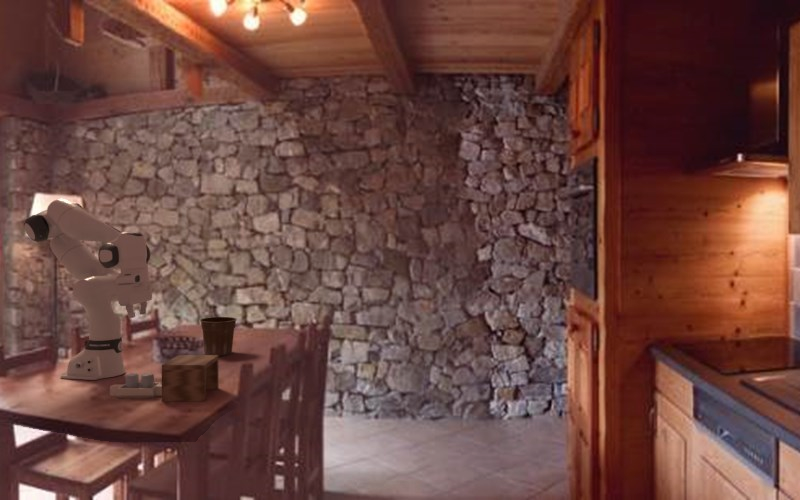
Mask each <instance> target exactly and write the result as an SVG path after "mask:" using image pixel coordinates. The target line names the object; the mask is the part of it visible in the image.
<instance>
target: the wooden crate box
mask: <svg viewBox="0 0 800 500" xmlns="http://www.w3.org/2000/svg"><path fill="white" fill-rule="evenodd" d="M219 379H220V377H219V356H218V355H205V354H178V355H177V356H175V357H173V358H172V359H169V360H168V361H166V362H164V363H163V364H161V382H162V396H161V402H205V401H206V400H207V390H218V389H220V388H219V385H220V384H219Z"/></svg>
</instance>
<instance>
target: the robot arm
mask: <svg viewBox="0 0 800 500" xmlns="http://www.w3.org/2000/svg"><path fill="white" fill-rule="evenodd" d="M23 227H24V228H23V229H24V232H25V234H26V235H27V236H28V237H29V239H31V240H32V241H34V242H37V243H41V242H46V241H48V240H50V239H51V240H50V242H49V245H50V249H51V252H52V253H53V254H54V256H55V258H56V259H57V260H58V261H59V262H60V264H61V265H62V266H63V267H64V268H65V269H66V270H67V272H68V273H69V274H70V276H71V277H73V278H74V279H76V280H77V281H76V282H75V283H74V285H73V288H72V295H73V298H74V300H75V301H76V302H77V303H78V304H79V305H81V306H82V308H83V309H84V311H85V313H86V315H87V320H88V336H89V337H88V338H89V339H87V340H85V341H83V342H82V346H84V349H83V350H81V351H80V352H79V353H77V354H76V355H74V356H73V357H72V358H71V359H69V362H68V364H67V370H66V371H64V372H62V373H61V374H60V378H61V379H69V380H85V381H87V380H89V381H96V380H102V379H107V378H108V379H109V378H112V377H113V378H114V377H117V376H122V375H123V374H125V373H127V372H126V368H125V365H124V361H123V354H122V352H123V337H122V328H121V327H122V325H121V323H122V322H121V321H122V319H121V317H120V315H118V314H117V313H115V311H114V310H113V308H112V303H116V302H118V304H119V306H120V307H125V310H126V313H127V317H128V318H129V319H134V318H135V317H136V312H135V311H134V305H137V304H139V305H140V307H139V308H140V309H139V315H143V316H144V315H146V314H147V307H148V301H152V300H153V290H152V284H151V282H150V280H149V266H148V262H149V261H150V259H151V250H150V247H149V246H148V245H147V242H146V238H145V236H144V234H143V233H141V232H140V231H139V232H138V231H120V230H119V229H118V228H116V227H114V226H112V225H110V224H108V223H107V222H104V221H102V220H101V219H99V218H97V217H96V216H94V215H92V214H91V213H90V212H88V211H86V210H85V209H84V207H83V206H82V205H81V204H80V203H78V202H75V201H70V200H68V199H65V198H58V199H55V200H53V201H52V202H50V203H49V204H48V206H47V208H46V210H42V211H41V212H38V213H37V214H32V215H30V216H29V217H27V218H26V219H25V220H24V222H23ZM82 241H85V242H86V241H87V242H100V243H103V244H102V245H101V246H100V248H99V250H98V253H97V255H98V257H97V256H96V255H95V254H94V253H93V252H92V251H91V250H90V249H89V247H87V246H86V244H85V243H84V242H82ZM115 269H120V272H118V271H116V270H115Z"/></svg>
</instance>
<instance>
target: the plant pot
mask: <svg viewBox="0 0 800 500" xmlns="http://www.w3.org/2000/svg"><path fill="white" fill-rule="evenodd" d="M199 321H200V324H201V326H200V327H201V329H202V338H203V353H205V354H204V355H218V357H223V356H228V355H231V354H232V353H233V344H234V343H233V342H234V336H235V335H234V334H235V328H236V321H238V320H237V318H236V317H231V316H230V317H229V316H212V317H204V318H201V319H199Z"/></svg>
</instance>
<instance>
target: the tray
mask: <svg viewBox="0 0 800 500" xmlns="http://www.w3.org/2000/svg"><path fill="white" fill-rule="evenodd" d="M139 376H140V378H139ZM139 379H140V382H139ZM154 381H155V374H154V373H144V374H141V375H139V374H138V373H129V374H125V383H124V384H123V383H122V384H116V383H115V384H112V385H110V386H109V397H116V398H117V399H154V398H155V397H160V396H161V397H162V381H161V382H160V381H159V382H156V381H155V382H154Z"/></svg>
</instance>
